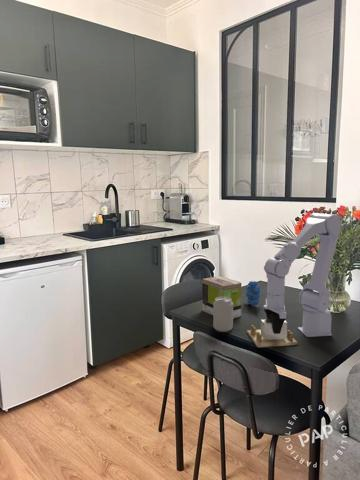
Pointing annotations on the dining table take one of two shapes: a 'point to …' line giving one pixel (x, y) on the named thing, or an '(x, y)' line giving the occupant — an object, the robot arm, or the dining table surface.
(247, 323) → the dining table surface
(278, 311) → the robot arm
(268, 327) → the block
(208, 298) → the tea box
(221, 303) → the can
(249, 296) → the grapes
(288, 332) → the tray
